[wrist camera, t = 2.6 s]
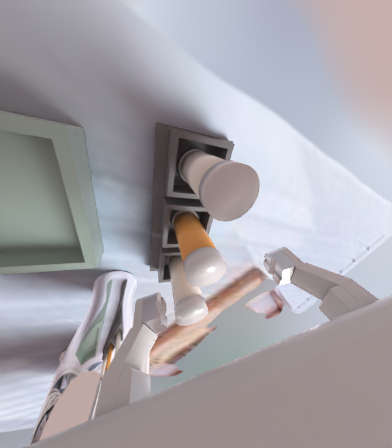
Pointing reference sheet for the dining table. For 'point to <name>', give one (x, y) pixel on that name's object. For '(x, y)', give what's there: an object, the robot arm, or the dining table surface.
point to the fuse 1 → (185, 295)
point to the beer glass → (88, 356)
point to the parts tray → (45, 197)
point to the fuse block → (176, 190)
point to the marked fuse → (197, 250)
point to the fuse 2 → (219, 183)
